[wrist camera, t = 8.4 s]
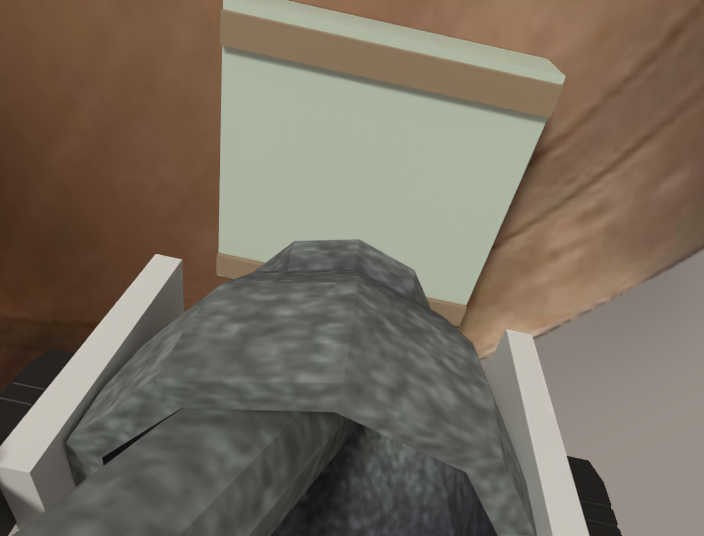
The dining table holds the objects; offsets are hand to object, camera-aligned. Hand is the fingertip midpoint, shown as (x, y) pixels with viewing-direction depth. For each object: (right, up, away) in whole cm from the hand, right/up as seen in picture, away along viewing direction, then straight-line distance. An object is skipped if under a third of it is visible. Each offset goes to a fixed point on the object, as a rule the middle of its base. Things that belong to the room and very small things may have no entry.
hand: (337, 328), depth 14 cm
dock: (+1, +7, +10) cm, 12 cm away
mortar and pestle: (0, +1, +1) cm, 1 cm away
